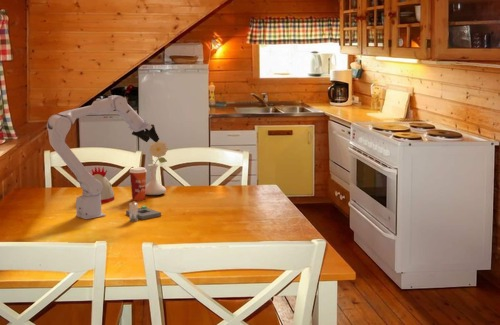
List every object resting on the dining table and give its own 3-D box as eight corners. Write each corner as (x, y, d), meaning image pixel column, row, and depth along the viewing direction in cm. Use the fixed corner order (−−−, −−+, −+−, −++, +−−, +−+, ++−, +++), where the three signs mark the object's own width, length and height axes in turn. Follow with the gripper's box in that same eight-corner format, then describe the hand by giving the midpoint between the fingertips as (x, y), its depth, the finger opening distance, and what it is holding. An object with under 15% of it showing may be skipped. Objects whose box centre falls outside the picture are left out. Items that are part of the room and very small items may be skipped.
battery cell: (132, 222, 272) (132, 203, 271) (128, 220, 275) (127, 201, 273) (139, 220, 274) (139, 201, 273) (135, 219, 277) (134, 200, 275)
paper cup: (138, 202, 305) (137, 170, 302) (126, 199, 310) (125, 168, 307) (151, 198, 311) (150, 168, 309) (139, 196, 316) (138, 166, 313)
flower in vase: (137, 196, 316) (135, 141, 312) (147, 190, 327) (146, 138, 322) (163, 198, 313) (162, 143, 308) (173, 192, 323) (172, 139, 319)
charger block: (142, 219, 275) (142, 214, 275) (126, 214, 284) (125, 208, 284) (161, 216, 281) (160, 210, 281) (144, 210, 290) (144, 205, 290)
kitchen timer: (110, 203, 302) (109, 170, 300) (79, 203, 302) (77, 169, 300) (117, 196, 316) (116, 164, 313) (87, 196, 316) (85, 163, 313)
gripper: (146, 110, 281) (167, 133, 288) (128, 111, 292) (149, 133, 299) (136, 123, 278) (157, 146, 285) (118, 123, 289) (139, 145, 296)
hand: (152, 140), depth 292 cm, fingers open, 7 cm apart
